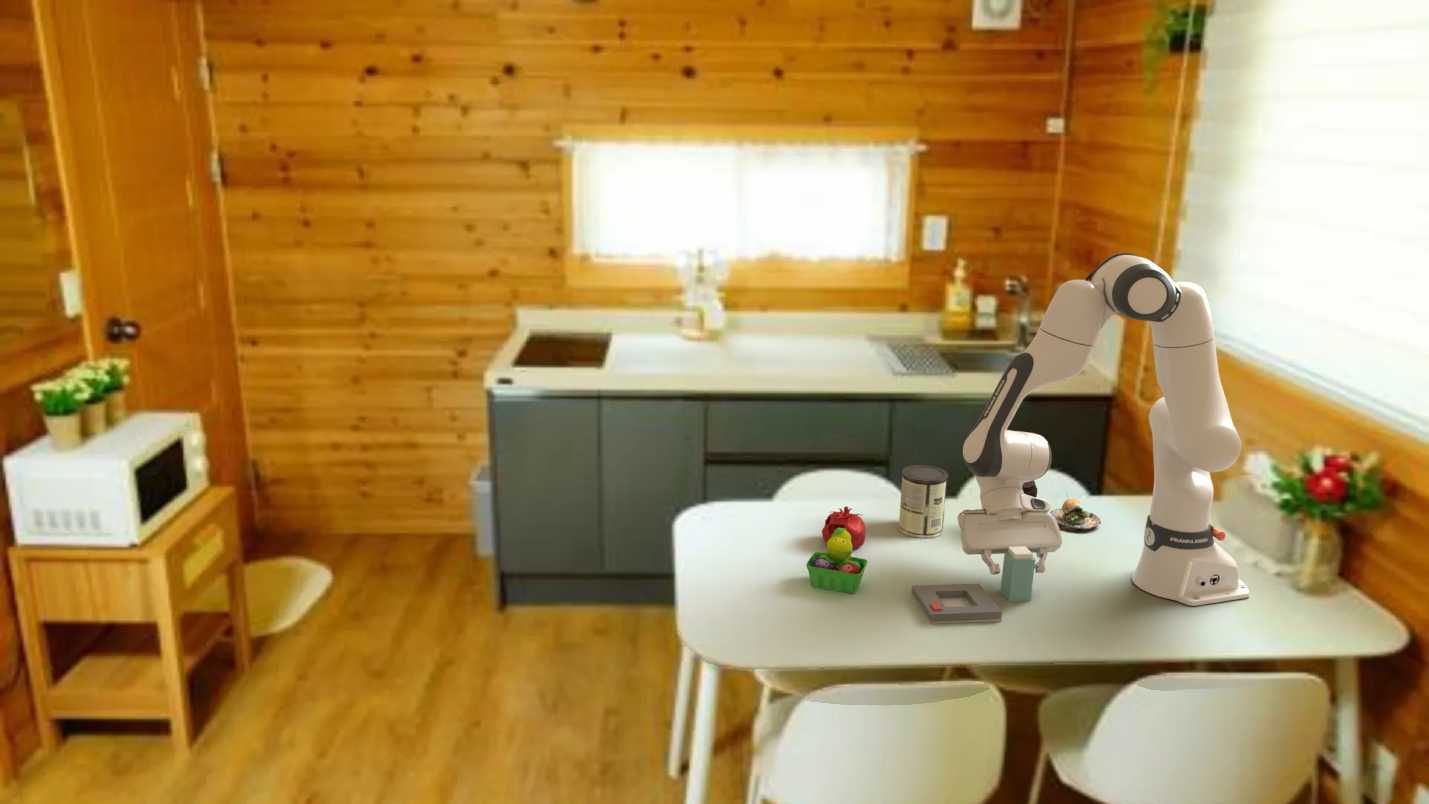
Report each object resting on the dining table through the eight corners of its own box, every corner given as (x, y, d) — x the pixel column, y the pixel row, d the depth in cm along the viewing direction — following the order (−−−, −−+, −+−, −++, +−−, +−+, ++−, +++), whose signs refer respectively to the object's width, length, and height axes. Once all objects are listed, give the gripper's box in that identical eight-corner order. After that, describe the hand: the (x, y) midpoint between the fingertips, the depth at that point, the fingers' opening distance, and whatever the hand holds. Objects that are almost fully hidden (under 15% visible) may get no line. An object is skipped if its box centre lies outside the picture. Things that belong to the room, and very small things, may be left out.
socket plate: (978, 592, 212) (979, 581, 211) (1000, 621, 200) (1002, 609, 199) (911, 594, 210) (912, 583, 209) (930, 623, 198) (931, 612, 198)
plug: (1021, 590, 213) (1026, 545, 210) (1030, 600, 209) (1035, 554, 206) (1000, 591, 212) (1005, 545, 210) (1008, 601, 208) (1014, 555, 205)
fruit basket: (803, 588, 212) (806, 537, 208) (815, 570, 220) (817, 521, 216) (858, 598, 208) (862, 546, 205) (868, 580, 216) (871, 529, 213)
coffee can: (907, 517, 249) (912, 461, 245) (949, 527, 243) (954, 470, 239) (890, 531, 240) (895, 474, 236) (933, 542, 235) (938, 483, 231)
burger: (1076, 538, 240) (1080, 508, 237) (1037, 520, 249) (1040, 491, 247) (1111, 528, 245) (1115, 499, 243) (1072, 511, 255) (1075, 482, 253)
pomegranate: (853, 533, 239) (855, 495, 236) (873, 551, 230) (876, 512, 227) (813, 538, 236) (815, 499, 233) (832, 556, 227) (834, 516, 224)
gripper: (960, 504, 211) (973, 569, 205) (1056, 501, 214) (1072, 566, 207) (951, 515, 217) (963, 579, 210) (1045, 513, 219) (1060, 576, 213)
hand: (1018, 572), depth 209 cm, fingers open, 8 cm apart
